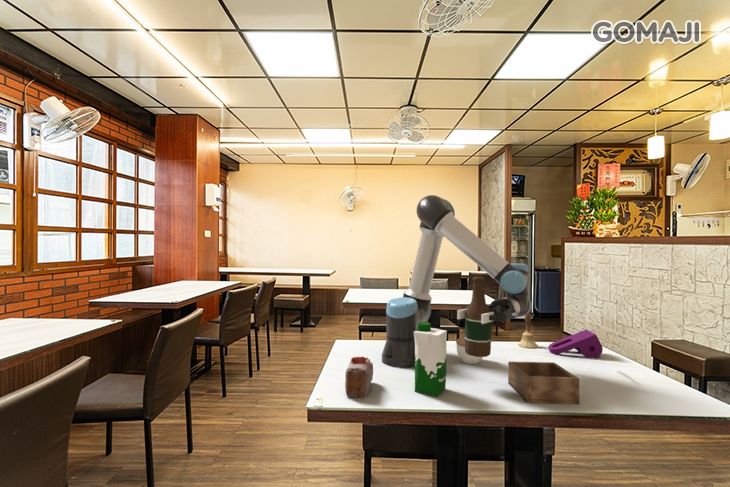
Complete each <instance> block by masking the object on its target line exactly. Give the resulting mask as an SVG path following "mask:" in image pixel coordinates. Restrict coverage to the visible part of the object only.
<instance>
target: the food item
mask: <svg viewBox="0 0 730 487" xmlns="http://www.w3.org/2000/svg"><path fill="white" fill-rule="evenodd" d="M373 376H374V363H373V362H371V359H370V358H369V357H365V356H352V357H351V359H350V361H349V363H348V366H347V368H346V371H345V376H344V377H345V380H344V381H345V383H344V384H345V385H344V386H345V388H344V389H345V395H346V397H347V398H361V399H365V398H367V396H368V394H369V391H370V390H371V385H372V381H373V378H374V377H373Z"/></svg>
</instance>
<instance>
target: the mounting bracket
mask: <svg viewBox="0 0 730 487" xmlns="http://www.w3.org/2000/svg"><path fill="white" fill-rule="evenodd" d="M547 348H548V350H549V353H550V354H552V355H561V354H563V353H566V352H569V351H571V350H576V351H577V352H579V353H580V354H581V355H583V356H585V358H587V359H597V358H599V357H601V355H602V353H603V351H604V350H603V345H602V343H601V341H600V339H599V338H598V335H597V334H596V333H594V332H592V331H590V330H588V329H587V328H586V329H584V330H581V331H578V332H576V333H574V334H571V335H568V336H566V337H564V338H561V339H559V340H556V341H553V342H552V343H550V344H549V345H548V346H547Z"/></svg>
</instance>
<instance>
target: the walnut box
mask: <svg viewBox="0 0 730 487" xmlns="http://www.w3.org/2000/svg"><path fill="white" fill-rule="evenodd" d="M507 363H508V367H507V369H508V370H507V372H508V373H507V376H508V380H507V381H508V382H507V383H508V385H509V386H510V387H511V388H512V389H513V390H514V391H515V392H516V393H517V394H518V395H519V396H520V397H521V399H523V401H524V402H525V403H527V404H560V405H561V404H562V405H565V404H566V405H567V404H568V405H580V378H579V377H577V376H576V375H575V374H572V373H571V372H569V371H568V370H567V369H565V368H563V367H562V366H561V365H559V364H557V363H556V362H554V361H553V362H548V361H547V362H543V361H540V362H539V361H508V362H507Z"/></svg>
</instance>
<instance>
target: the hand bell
mask: <svg viewBox="0 0 730 487" xmlns="http://www.w3.org/2000/svg"><path fill="white" fill-rule="evenodd" d="M524 321H525V331H524V332H523V333H522V334H521V335H522V336H521V339H520V342H518V344H517V346H518V347H520V348H525V349H526V348H527V349H537V348H539V345H538V344H537V342H536V341H535V336H534V334H533V333H531V326H530V325H531V322H532V314H531V311H530V312H529V313H528V314H526V315H524Z"/></svg>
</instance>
